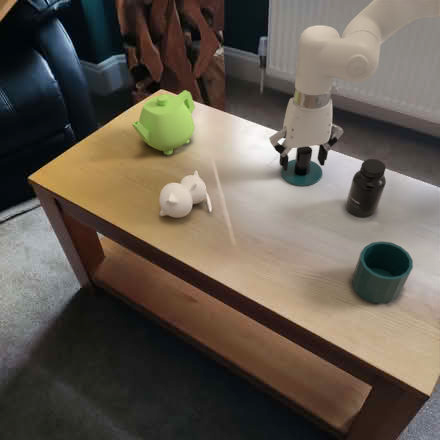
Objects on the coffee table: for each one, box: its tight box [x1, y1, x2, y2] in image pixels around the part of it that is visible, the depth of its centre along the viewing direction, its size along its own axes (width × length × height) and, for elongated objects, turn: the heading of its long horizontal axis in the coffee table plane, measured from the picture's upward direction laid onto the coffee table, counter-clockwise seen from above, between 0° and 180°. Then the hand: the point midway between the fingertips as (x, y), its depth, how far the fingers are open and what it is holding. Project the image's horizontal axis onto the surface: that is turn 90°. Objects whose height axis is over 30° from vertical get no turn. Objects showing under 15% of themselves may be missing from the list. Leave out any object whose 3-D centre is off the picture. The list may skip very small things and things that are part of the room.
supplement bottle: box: [345, 158, 387, 219], centre depth 93 cm, size 7×7×12 cm
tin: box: [351, 240, 414, 305], centre depth 82 cm, size 9×9×7 cm
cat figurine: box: [158, 170, 213, 219], centre depth 97 cm, size 9×11×12 cm
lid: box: [280, 146, 323, 187], centre depth 103 cm, size 10×10×7 cm
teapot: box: [131, 89, 196, 155], centre depth 111 cm, size 20×13×13 cm
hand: (302, 164), depth 103 cm, fingers open, 8 cm apart
